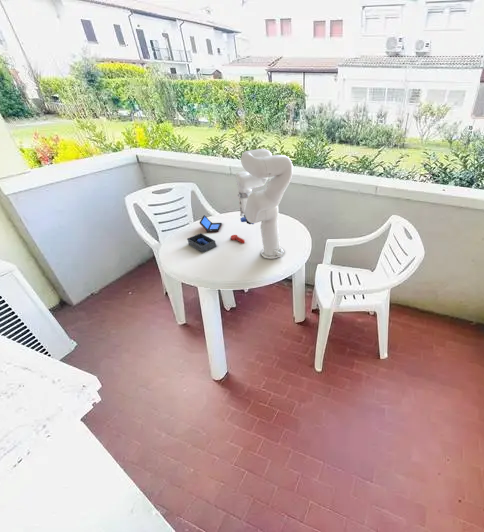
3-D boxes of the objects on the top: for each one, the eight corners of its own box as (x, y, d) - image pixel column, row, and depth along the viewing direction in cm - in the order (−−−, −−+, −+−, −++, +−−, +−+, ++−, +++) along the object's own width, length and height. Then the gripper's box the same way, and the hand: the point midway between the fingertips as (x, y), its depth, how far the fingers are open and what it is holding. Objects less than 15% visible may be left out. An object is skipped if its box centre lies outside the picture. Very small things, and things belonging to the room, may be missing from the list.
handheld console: (218, 232, 184) (216, 222, 180) (201, 233, 183) (198, 222, 179) (222, 224, 195) (220, 214, 190) (206, 224, 194) (203, 214, 190)
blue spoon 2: (256, 223, 174) (256, 220, 173) (251, 225, 171) (250, 222, 170) (244, 218, 180) (244, 215, 179) (239, 221, 177) (238, 217, 176)
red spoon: (247, 242, 174) (246, 238, 173) (241, 244, 171) (240, 241, 170) (235, 236, 180) (234, 233, 179) (229, 238, 177) (229, 235, 176)
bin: (216, 246, 169) (215, 240, 167) (202, 252, 163) (201, 246, 161) (202, 238, 177) (200, 233, 175) (188, 244, 171) (187, 238, 169)
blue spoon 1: (213, 245, 169) (212, 242, 168) (207, 248, 167) (206, 245, 165) (202, 239, 175) (201, 236, 174) (196, 242, 173) (195, 238, 171)
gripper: (238, 199, 157) (244, 229, 167) (260, 191, 167) (264, 220, 177) (230, 196, 161) (236, 225, 171) (252, 189, 171) (256, 217, 181)
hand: (250, 222), depth 174 cm, fingers closed on blue spoon 2, 2 cm apart
